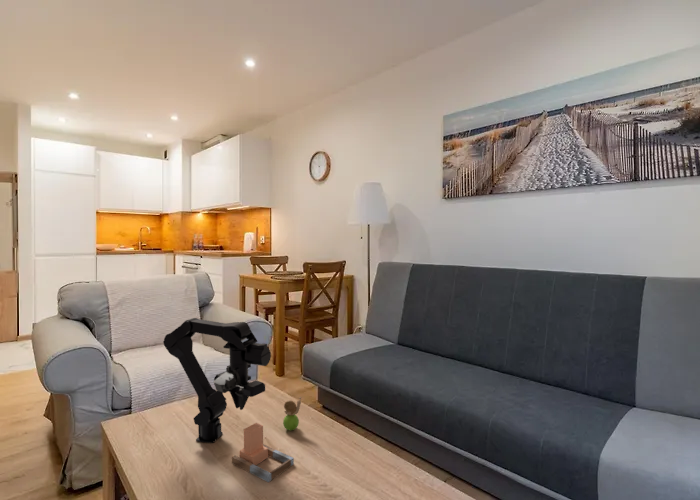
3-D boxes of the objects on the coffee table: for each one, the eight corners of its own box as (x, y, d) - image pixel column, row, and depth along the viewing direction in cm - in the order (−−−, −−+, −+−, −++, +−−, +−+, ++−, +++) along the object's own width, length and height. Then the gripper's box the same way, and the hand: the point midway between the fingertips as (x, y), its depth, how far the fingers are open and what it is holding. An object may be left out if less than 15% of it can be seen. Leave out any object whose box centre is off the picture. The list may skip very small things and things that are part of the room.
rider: (239, 460, 123) (239, 428, 123) (254, 451, 128) (254, 420, 127) (253, 467, 120) (252, 434, 119) (267, 457, 125) (267, 426, 124)
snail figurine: (298, 434, 139) (298, 400, 138) (280, 432, 140) (280, 398, 139) (303, 426, 144) (303, 394, 143) (286, 424, 145) (286, 392, 144)
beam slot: (231, 463, 122) (231, 456, 122) (257, 447, 130) (257, 441, 130) (268, 482, 113) (268, 475, 113) (293, 464, 122) (293, 457, 121)
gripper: (199, 363, 129) (200, 410, 130) (238, 376, 119) (239, 427, 120) (227, 354, 138) (228, 398, 140) (266, 365, 128) (266, 412, 129)
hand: (239, 408), depth 132 cm, fingers closed
